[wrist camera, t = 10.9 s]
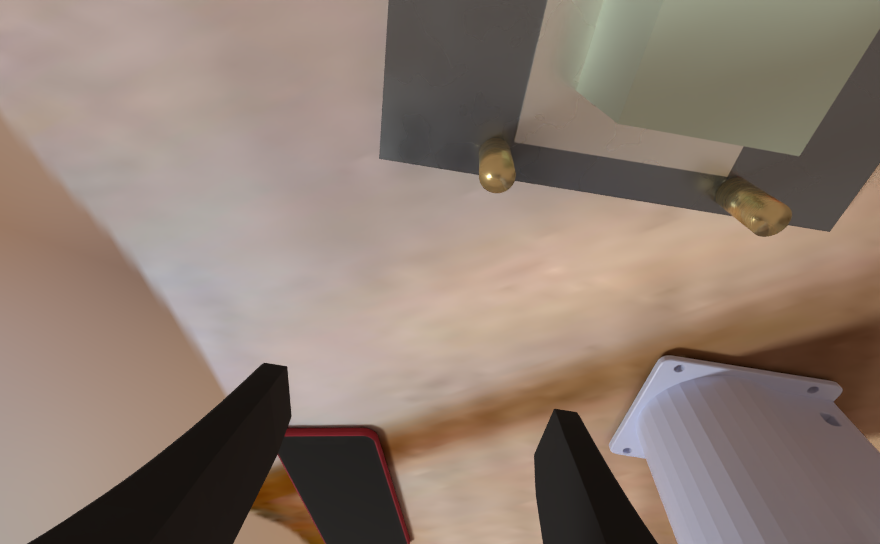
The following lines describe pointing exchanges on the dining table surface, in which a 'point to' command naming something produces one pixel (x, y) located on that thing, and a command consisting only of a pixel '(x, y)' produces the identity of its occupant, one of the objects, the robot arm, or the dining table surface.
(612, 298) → the dining table surface
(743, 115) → the board block
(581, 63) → the chassis
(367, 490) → the smartphone
